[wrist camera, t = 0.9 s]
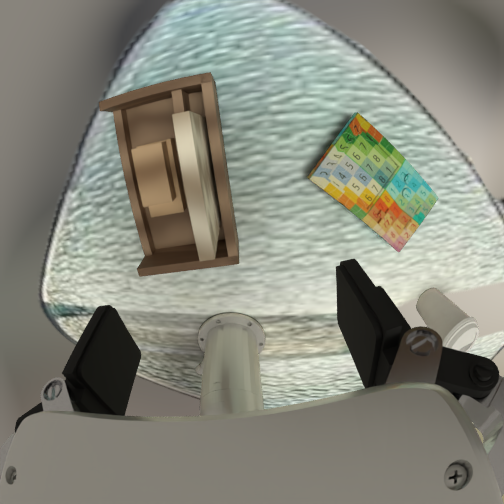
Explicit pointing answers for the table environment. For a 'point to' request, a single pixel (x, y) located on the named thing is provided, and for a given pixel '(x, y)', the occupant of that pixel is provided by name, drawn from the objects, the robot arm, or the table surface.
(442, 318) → the coffee cup
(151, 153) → the tan wooden block
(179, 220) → the walnut rack
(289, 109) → the table surface
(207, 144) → the birch sheet
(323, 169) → the puzzle game
